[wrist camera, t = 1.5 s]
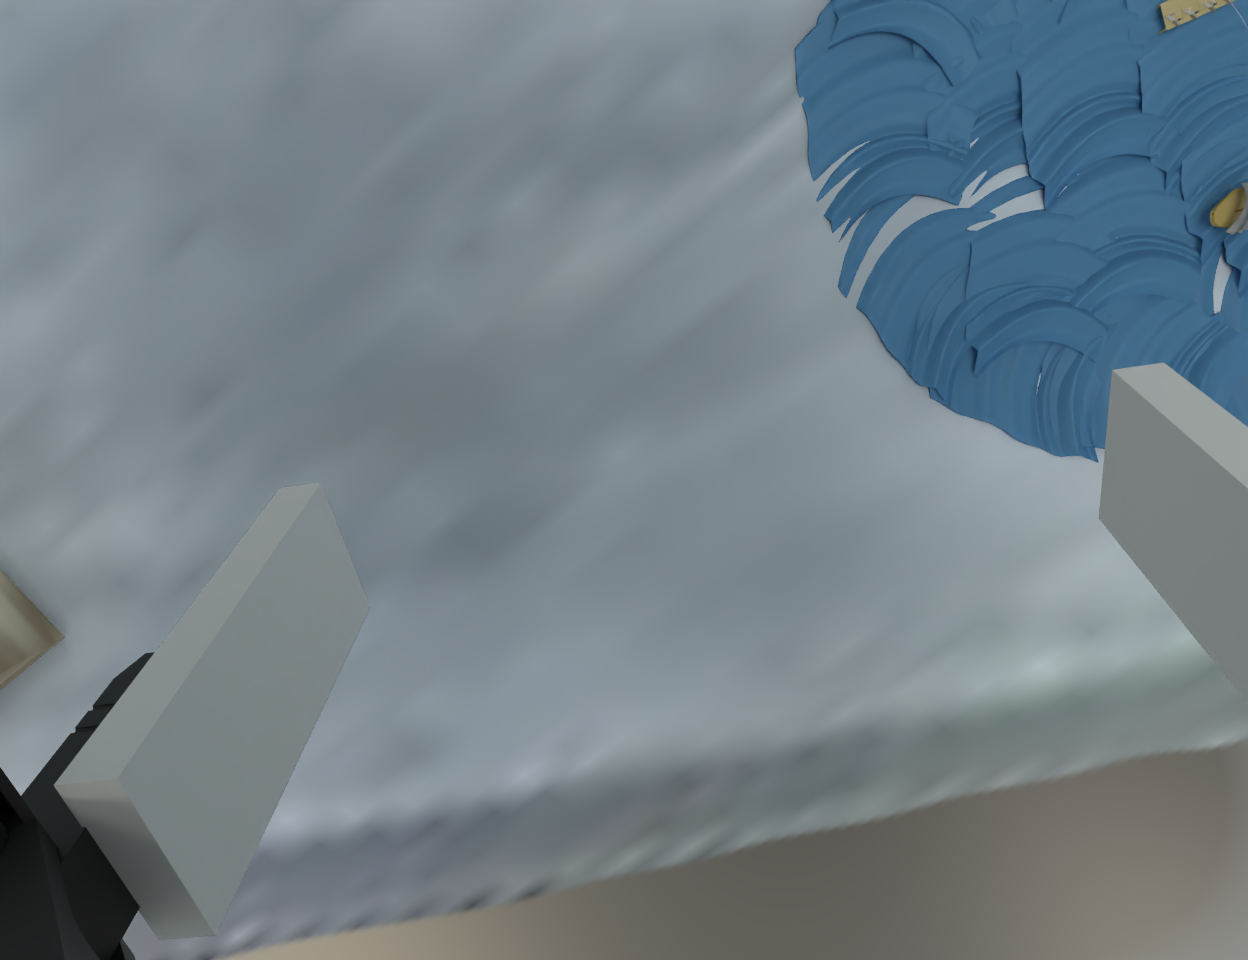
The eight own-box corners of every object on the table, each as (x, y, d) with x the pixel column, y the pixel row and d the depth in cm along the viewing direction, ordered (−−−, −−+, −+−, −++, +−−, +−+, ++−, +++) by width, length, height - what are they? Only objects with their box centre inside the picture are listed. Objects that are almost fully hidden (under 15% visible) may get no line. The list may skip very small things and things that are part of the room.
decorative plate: (1053, 616, 40) (1117, 662, 35) (654, 32, 35) (660, -15, 30) (1673, 204, 36) (1845, 187, 31) (1324, -500, 32) (1459, -655, 27)
